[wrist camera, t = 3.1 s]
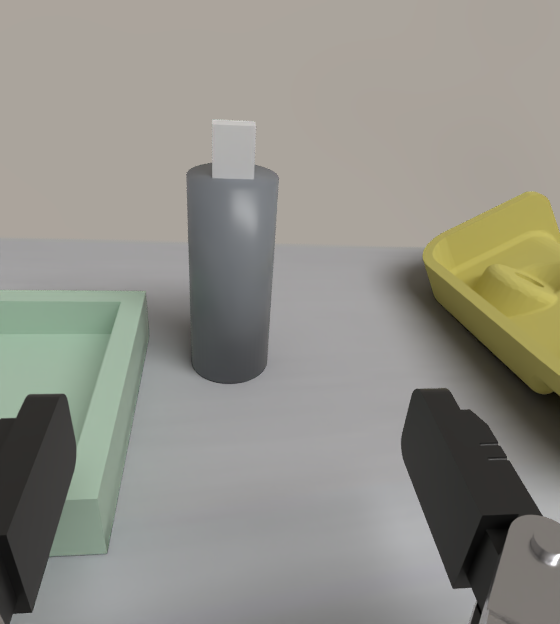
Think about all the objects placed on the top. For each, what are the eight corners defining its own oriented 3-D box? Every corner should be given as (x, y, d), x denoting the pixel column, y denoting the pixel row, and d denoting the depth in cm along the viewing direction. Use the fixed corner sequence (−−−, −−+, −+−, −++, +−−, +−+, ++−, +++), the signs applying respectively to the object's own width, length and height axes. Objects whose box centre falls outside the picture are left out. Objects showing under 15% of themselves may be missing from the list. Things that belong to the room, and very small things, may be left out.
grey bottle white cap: (190, 384, 24) (181, 132, 18) (193, 338, 27) (187, 110, 21) (269, 382, 24) (287, 136, 18) (264, 338, 27) (277, 114, 21)
